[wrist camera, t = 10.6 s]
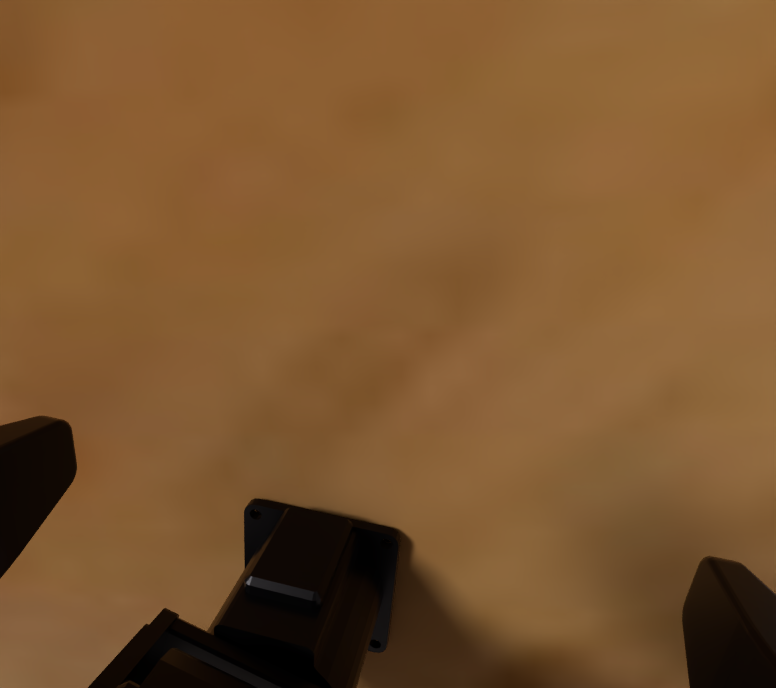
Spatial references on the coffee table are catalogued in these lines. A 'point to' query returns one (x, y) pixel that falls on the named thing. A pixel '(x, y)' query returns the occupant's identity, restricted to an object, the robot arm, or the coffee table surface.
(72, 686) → the coffee table surface
